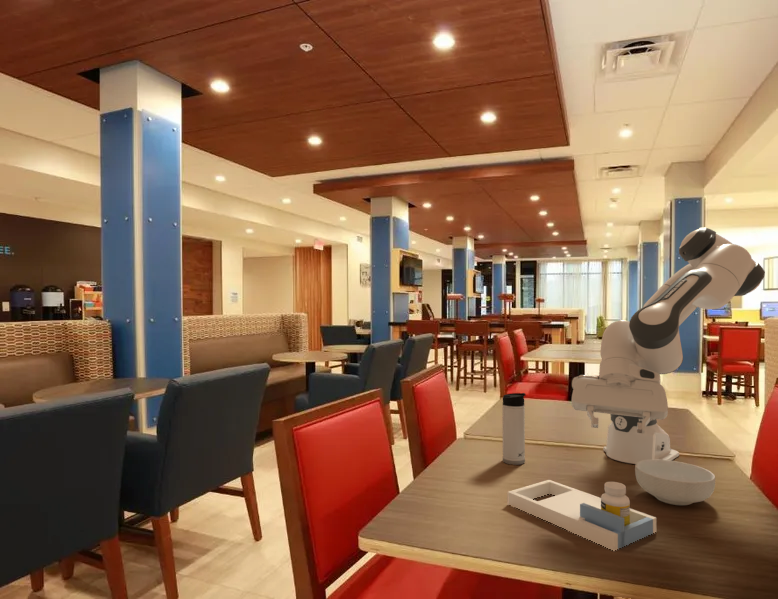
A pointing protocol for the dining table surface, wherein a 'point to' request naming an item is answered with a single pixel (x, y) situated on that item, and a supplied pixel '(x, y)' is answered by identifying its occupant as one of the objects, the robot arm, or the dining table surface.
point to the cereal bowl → (675, 481)
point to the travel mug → (514, 428)
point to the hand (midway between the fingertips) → (617, 429)
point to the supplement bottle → (616, 501)
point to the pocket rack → (581, 514)
